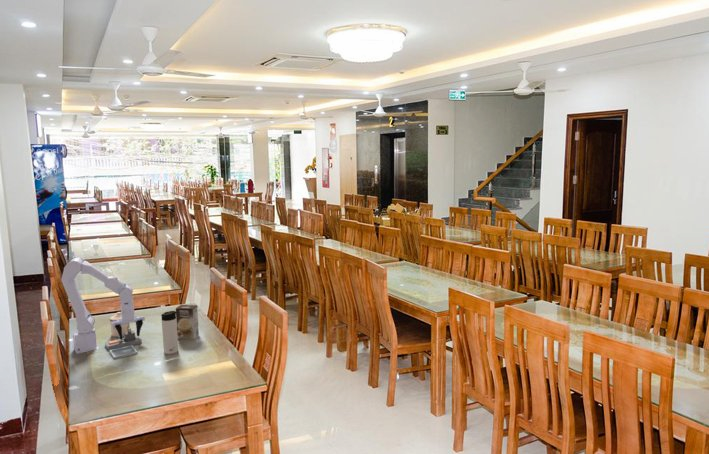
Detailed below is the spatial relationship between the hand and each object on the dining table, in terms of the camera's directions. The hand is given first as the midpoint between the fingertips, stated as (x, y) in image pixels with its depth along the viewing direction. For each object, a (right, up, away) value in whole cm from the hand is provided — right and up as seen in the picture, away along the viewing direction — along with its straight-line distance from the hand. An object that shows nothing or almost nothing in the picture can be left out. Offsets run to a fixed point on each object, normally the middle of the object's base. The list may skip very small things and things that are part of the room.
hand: (129, 337), depth 245 cm
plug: (0, -3, 0) cm, 4 cm away
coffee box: (+26, -2, +9) cm, 27 cm away
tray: (+2, -5, -12) cm, 13 cm away
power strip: (-2, -4, -1) cm, 5 cm away
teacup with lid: (-12, -2, +16) cm, 20 cm away
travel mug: (+25, -5, -12) cm, 28 cm away
